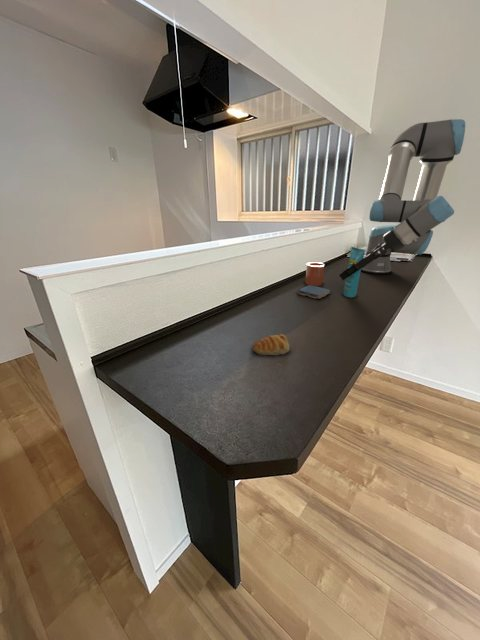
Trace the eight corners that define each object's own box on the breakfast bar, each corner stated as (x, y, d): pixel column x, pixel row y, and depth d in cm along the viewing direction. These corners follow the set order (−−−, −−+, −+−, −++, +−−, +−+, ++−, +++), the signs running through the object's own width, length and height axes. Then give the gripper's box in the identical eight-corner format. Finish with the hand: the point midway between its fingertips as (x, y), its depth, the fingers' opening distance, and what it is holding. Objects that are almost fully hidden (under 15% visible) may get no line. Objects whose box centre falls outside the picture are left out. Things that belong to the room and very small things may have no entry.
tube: (338, 293, 110) (346, 246, 102) (347, 291, 112) (355, 245, 104) (351, 299, 104) (361, 250, 96) (361, 297, 106) (370, 249, 98)
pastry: (258, 359, 66) (258, 346, 65) (248, 346, 72) (249, 334, 70) (291, 353, 69) (292, 340, 67) (279, 341, 75) (280, 329, 73)
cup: (308, 280, 128) (310, 261, 124) (324, 282, 124) (327, 263, 120) (302, 284, 122) (304, 264, 118) (318, 287, 118) (321, 267, 114)
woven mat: (331, 293, 111) (331, 289, 110) (318, 300, 104) (319, 295, 103) (308, 288, 117) (309, 283, 116) (296, 294, 110) (296, 289, 109)
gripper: (404, 249, 85) (342, 289, 100) (408, 242, 98) (353, 278, 113) (389, 231, 85) (330, 273, 100) (395, 226, 98) (343, 264, 114)
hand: (343, 275), depth 107 cm, fingers closed on tube, 5 cm apart
